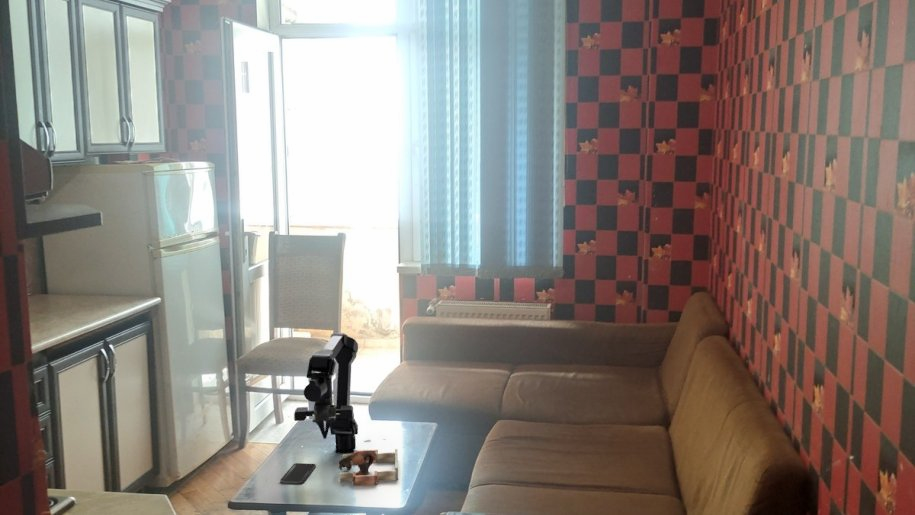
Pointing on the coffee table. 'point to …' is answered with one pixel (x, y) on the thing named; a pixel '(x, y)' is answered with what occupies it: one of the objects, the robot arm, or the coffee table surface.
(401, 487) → the coffee table surface
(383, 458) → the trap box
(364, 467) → the pottery mug
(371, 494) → the coffee table surface
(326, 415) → the robot arm
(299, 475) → the phone
